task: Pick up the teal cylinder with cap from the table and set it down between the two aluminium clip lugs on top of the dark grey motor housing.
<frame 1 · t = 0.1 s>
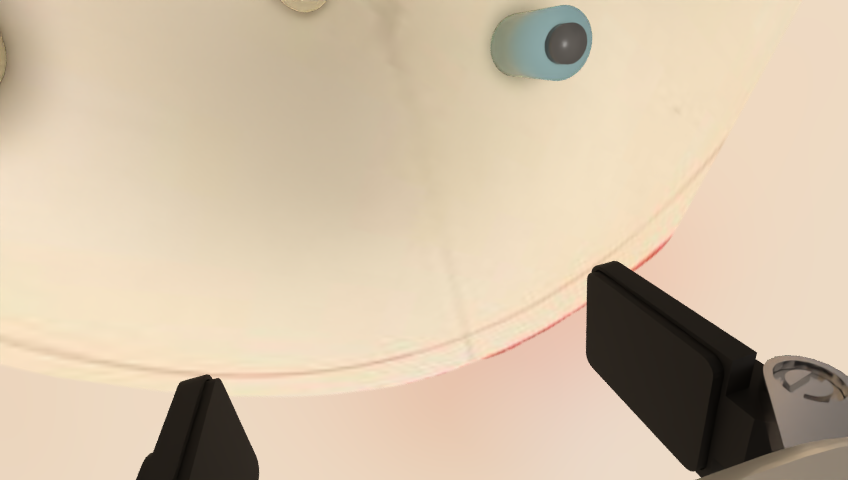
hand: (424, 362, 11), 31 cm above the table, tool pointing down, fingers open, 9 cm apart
teal cylinder with cap: (517, 45, 39), on the table
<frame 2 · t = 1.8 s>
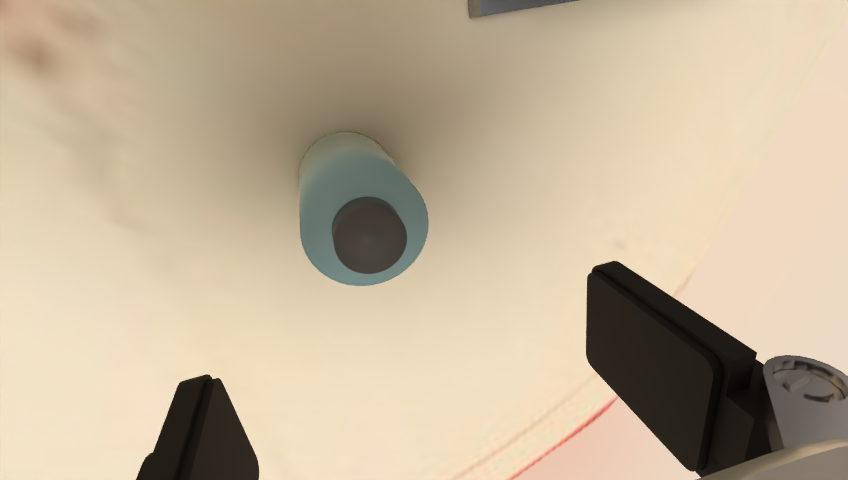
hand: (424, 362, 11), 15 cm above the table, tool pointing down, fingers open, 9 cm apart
teal cylinder with cap: (347, 179, 24), on the table
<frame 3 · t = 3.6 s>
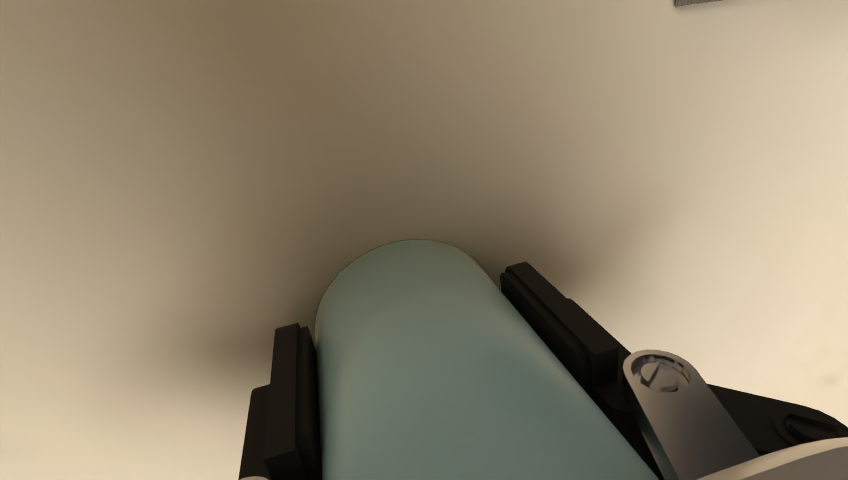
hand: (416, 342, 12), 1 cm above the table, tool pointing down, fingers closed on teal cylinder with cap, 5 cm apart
teal cylinder with cap: (408, 323, 12), on the table, touching gripper
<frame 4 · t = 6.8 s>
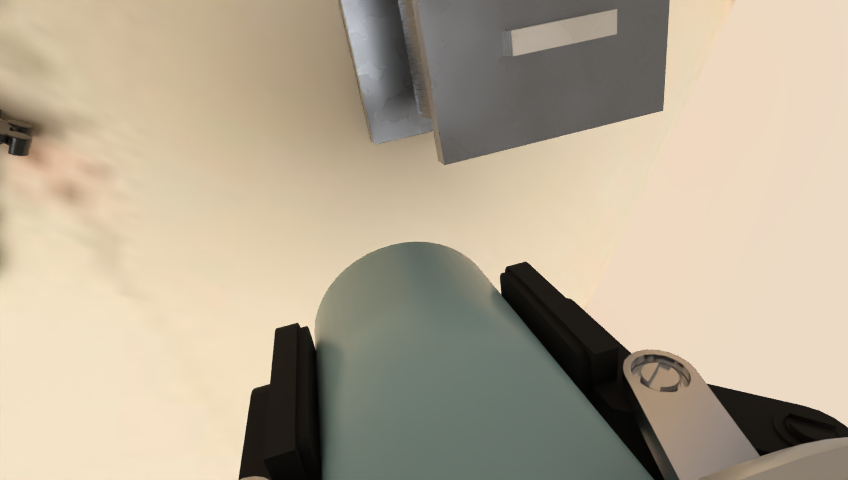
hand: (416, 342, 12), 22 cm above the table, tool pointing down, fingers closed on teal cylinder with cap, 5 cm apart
teal cylinder with cap: (408, 325, 12), point 21 cm above the table, touching gripper
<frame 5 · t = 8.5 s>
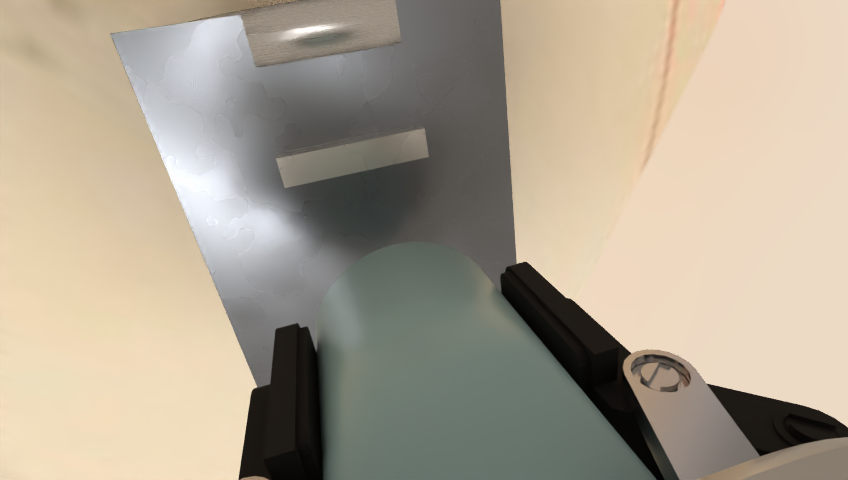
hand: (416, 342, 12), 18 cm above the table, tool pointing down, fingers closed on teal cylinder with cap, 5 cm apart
motor: (344, 171, 28), on the table
teal cylinder with cap: (409, 325, 12), point 17 cm above the table, touching gripper
when the fingers open (14 cm above the table, at t = 10.0 s): teal cylinder with cap drops 1 cm, resting on motor.
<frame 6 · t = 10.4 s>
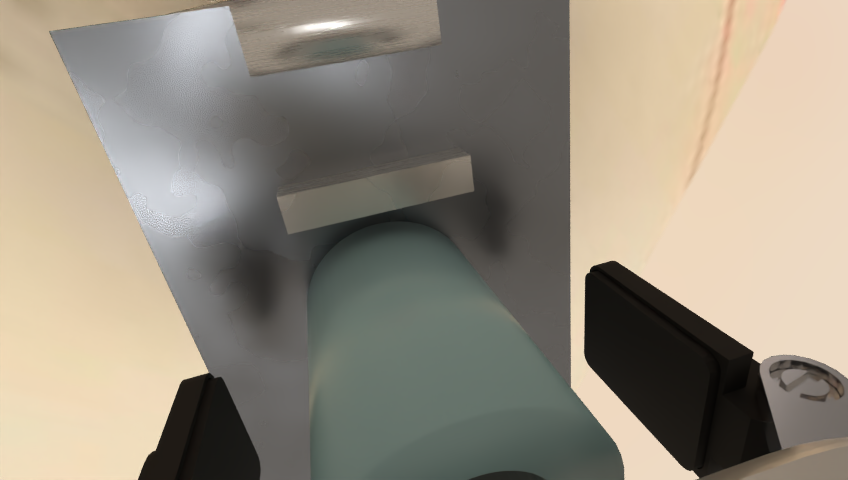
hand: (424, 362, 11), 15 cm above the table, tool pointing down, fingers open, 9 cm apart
motor: (355, 190, 24), on the table
teal cylinder with cap: (392, 299, 14), point 12 cm above the table, touching motor
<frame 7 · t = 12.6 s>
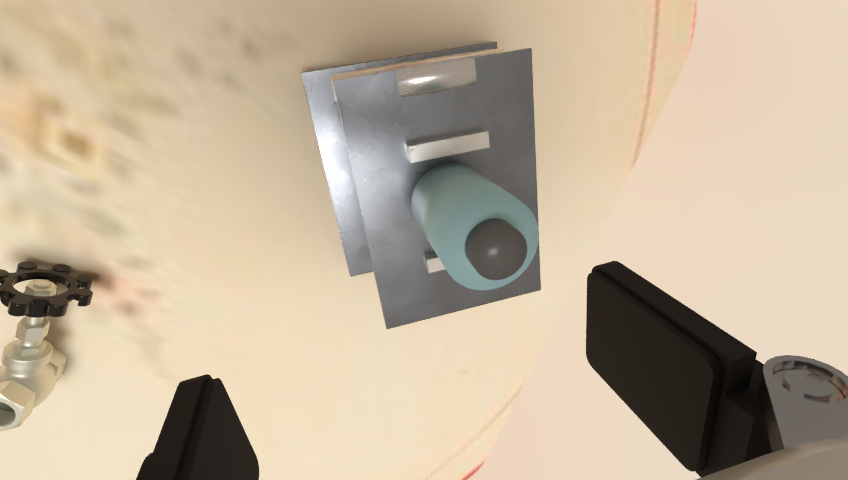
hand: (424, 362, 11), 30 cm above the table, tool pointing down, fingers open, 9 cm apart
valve: (53, 322, 38), on the table
motor: (415, 163, 39), on the table
teal cylinder with cap: (449, 201, 29), point 12 cm above the table, touching motor
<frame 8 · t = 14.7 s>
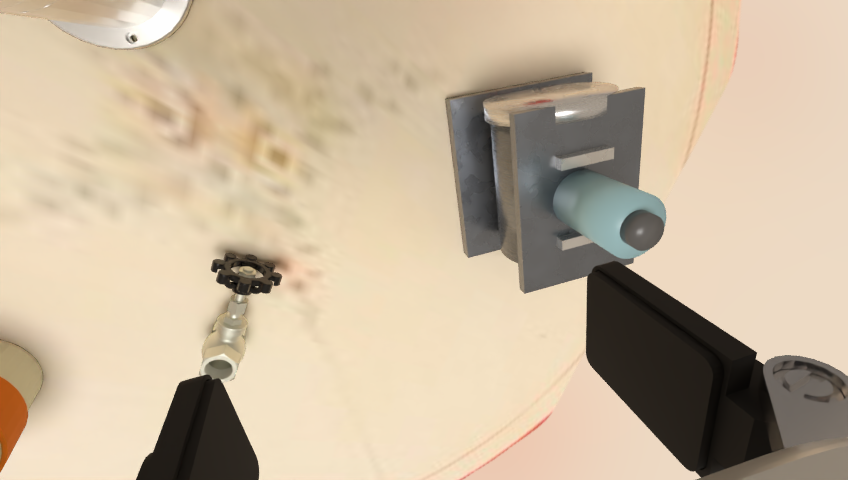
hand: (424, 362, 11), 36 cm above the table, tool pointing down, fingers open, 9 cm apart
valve: (237, 301, 48), on the table
motor: (521, 166, 50), on the table
teal cylinder with cap: (579, 197, 39), point 12 cm above the table, touching motor
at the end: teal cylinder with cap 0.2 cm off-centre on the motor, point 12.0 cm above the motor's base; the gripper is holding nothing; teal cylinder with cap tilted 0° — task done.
